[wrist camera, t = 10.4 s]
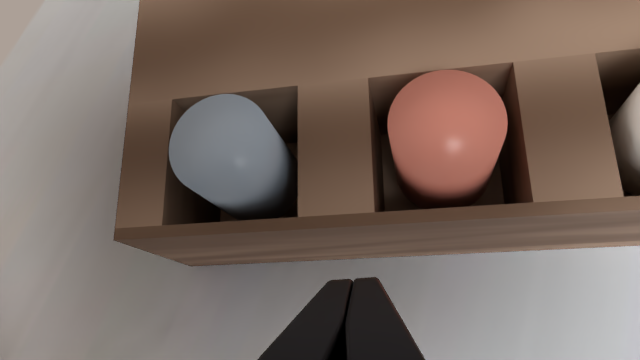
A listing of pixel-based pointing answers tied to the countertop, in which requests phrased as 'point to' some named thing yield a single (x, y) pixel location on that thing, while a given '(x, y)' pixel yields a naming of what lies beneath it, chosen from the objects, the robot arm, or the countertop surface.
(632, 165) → the white key
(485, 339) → the countertop surface
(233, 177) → the grey rounded block
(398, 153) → the brick key
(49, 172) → the countertop surface
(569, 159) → the wooden socket block
